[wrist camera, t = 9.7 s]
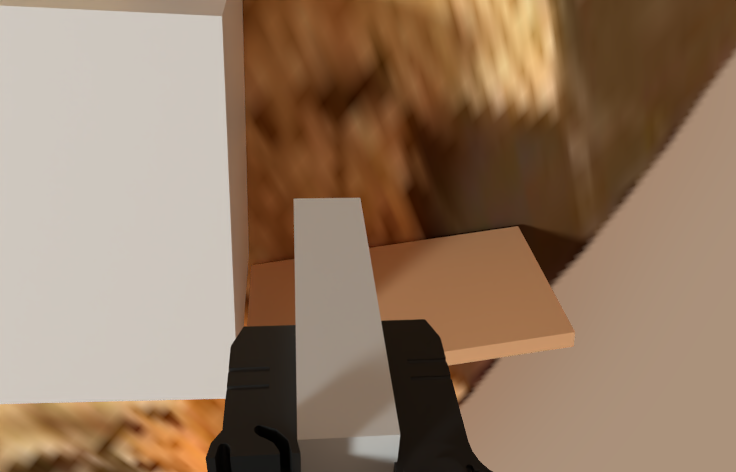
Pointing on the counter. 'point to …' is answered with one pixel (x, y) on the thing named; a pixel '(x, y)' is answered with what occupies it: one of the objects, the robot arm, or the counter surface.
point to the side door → (446, 294)
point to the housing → (121, 199)
